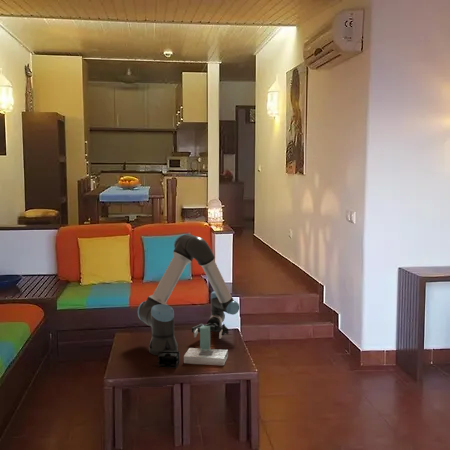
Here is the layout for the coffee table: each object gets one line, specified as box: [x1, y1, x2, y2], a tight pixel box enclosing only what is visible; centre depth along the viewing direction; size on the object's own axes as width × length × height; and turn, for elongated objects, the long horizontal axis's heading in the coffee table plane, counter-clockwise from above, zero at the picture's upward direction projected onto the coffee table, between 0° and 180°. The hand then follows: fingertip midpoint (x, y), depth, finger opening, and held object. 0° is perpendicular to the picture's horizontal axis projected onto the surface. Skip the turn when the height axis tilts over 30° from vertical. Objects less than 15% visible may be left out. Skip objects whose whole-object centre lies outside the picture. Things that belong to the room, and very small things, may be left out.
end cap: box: [157, 350, 180, 369], centre depth 277 cm, size 10×7×7 cm
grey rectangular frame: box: [183, 347, 229, 366], centre depth 284 cm, size 20×12×4 cm, turn 80°
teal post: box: [199, 326, 211, 349], centre depth 298 cm, size 4×4×12 cm
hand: (207, 335), depth 300 cm, fingers open, 13 cm apart
